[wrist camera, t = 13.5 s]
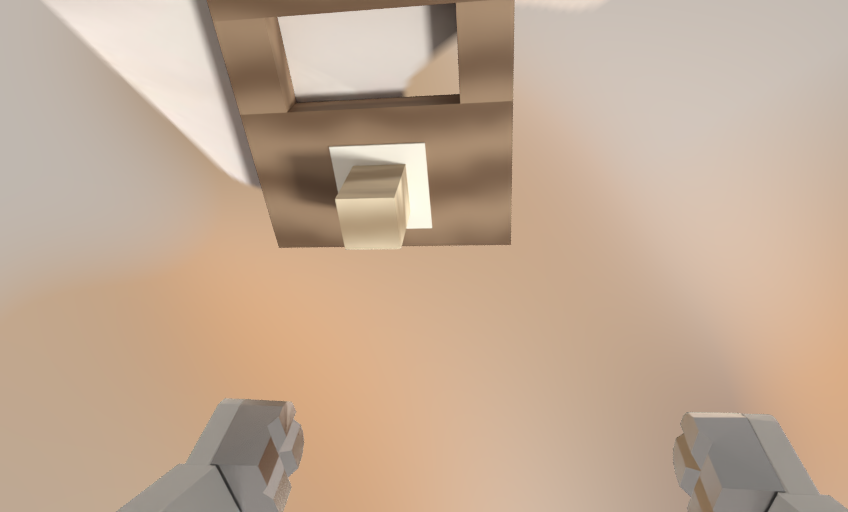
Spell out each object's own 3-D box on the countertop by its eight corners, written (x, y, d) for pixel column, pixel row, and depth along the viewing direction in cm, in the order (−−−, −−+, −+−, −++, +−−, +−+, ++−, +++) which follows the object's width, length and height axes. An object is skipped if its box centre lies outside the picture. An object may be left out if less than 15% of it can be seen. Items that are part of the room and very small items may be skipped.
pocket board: (219, -13, 38) (202, -9, 36) (513, -39, 35) (515, -36, 33) (287, 233, 50) (278, 248, 48) (509, 230, 47) (510, 245, 45)
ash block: (352, 165, 42) (334, 199, 37) (405, 164, 42) (394, 197, 37) (360, 212, 45) (345, 249, 40) (410, 211, 44) (400, 248, 39)
